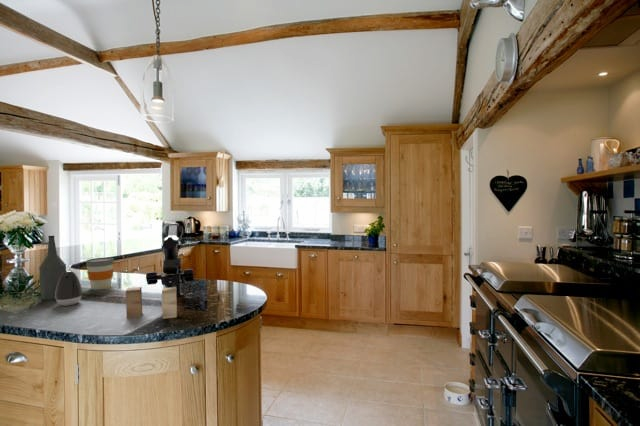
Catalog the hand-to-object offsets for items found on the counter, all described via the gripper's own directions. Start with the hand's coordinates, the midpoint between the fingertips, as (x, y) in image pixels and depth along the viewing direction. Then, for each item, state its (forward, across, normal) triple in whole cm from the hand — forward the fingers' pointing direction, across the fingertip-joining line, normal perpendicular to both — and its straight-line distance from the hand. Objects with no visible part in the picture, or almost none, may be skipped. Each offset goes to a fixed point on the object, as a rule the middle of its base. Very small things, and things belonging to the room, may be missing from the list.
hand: (170, 293), depth 148 cm
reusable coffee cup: (-36, -38, +47) cm, 70 cm away
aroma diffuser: (-15, -44, +26) cm, 53 cm away
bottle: (-26, -55, +37) cm, 71 cm away
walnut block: (+5, -14, +6) cm, 16 cm away
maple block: (+9, 0, +2) cm, 9 cm away
